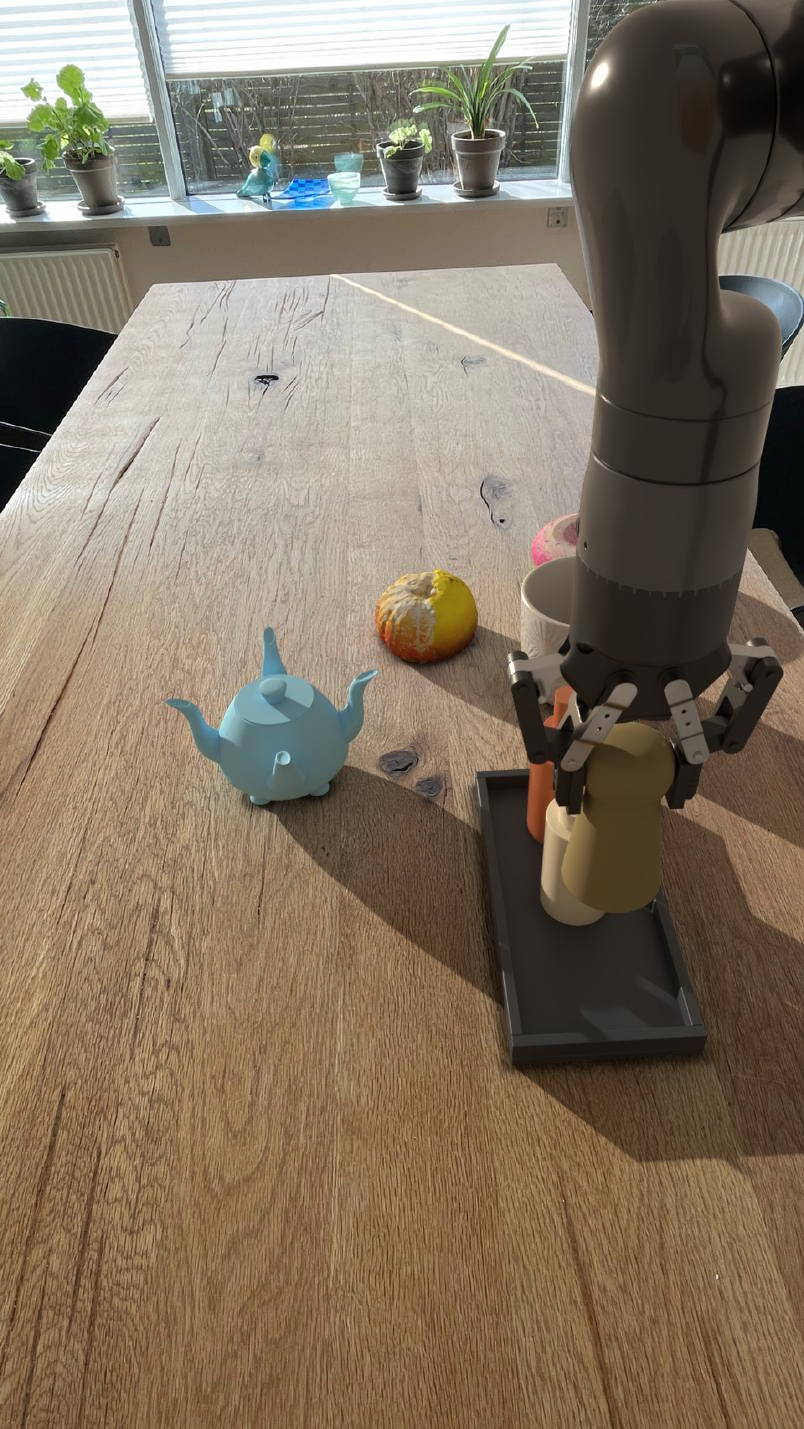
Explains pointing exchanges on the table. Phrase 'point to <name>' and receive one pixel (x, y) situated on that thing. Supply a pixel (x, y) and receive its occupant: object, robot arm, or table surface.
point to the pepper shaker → (620, 821)
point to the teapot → (279, 732)
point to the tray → (577, 956)
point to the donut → (555, 540)
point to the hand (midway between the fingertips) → (621, 800)
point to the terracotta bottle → (544, 774)
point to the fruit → (426, 617)
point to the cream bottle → (552, 885)
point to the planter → (547, 610)
